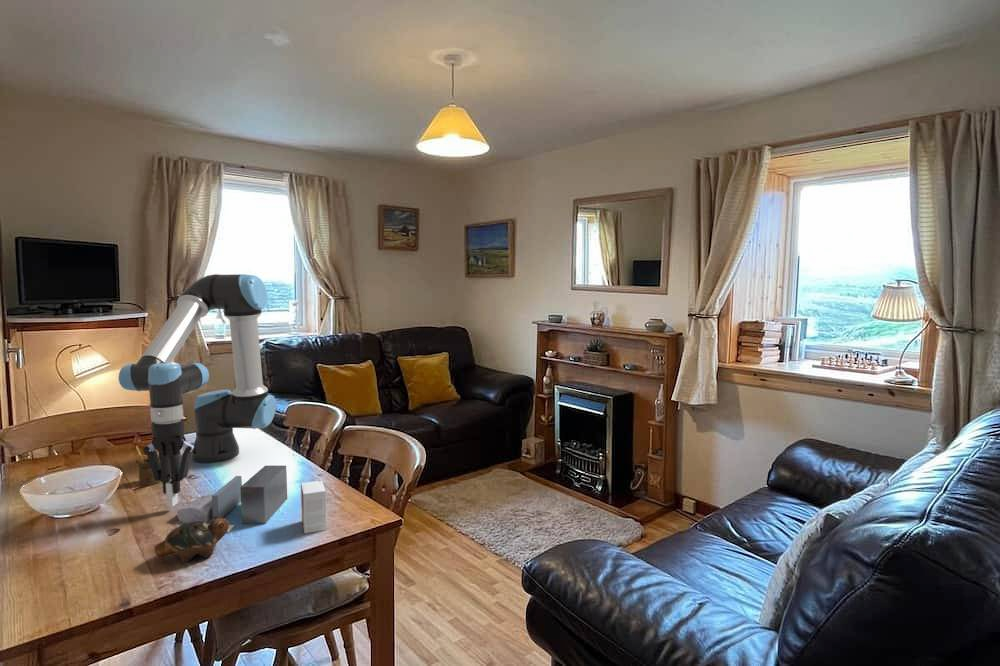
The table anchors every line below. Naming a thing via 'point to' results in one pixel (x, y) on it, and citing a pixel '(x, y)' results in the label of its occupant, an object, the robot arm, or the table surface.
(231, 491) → the gauge plate
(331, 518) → the table surface
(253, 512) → the dark gray block
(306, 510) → the small box
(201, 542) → the decorative turtle
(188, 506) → the stone block
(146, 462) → the utensil holder
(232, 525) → the pale flat strip
